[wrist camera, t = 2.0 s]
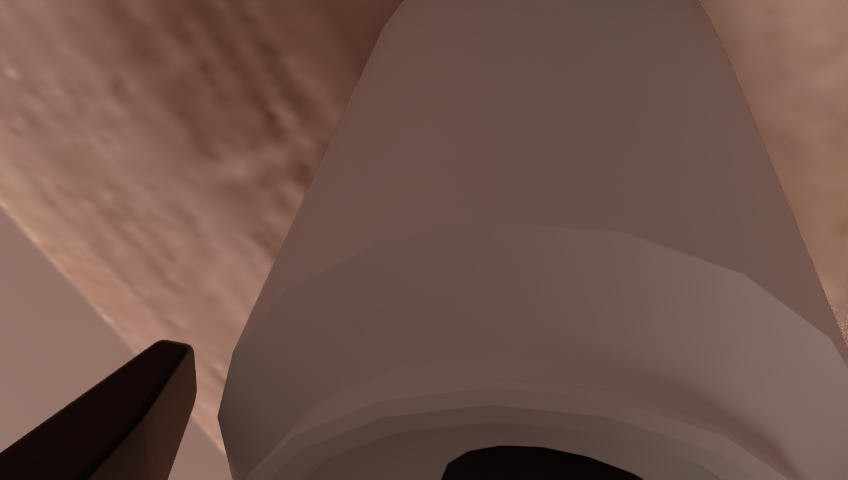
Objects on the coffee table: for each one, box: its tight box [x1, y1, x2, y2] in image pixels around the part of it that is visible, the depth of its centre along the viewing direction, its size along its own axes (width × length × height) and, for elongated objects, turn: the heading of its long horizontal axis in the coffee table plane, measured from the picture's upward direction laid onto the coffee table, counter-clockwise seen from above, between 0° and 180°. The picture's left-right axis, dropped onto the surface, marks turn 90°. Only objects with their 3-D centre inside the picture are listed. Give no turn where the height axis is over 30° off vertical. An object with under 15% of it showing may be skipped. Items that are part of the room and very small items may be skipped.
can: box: [218, 0, 848, 480], centre depth 13 cm, size 8×8×12 cm
